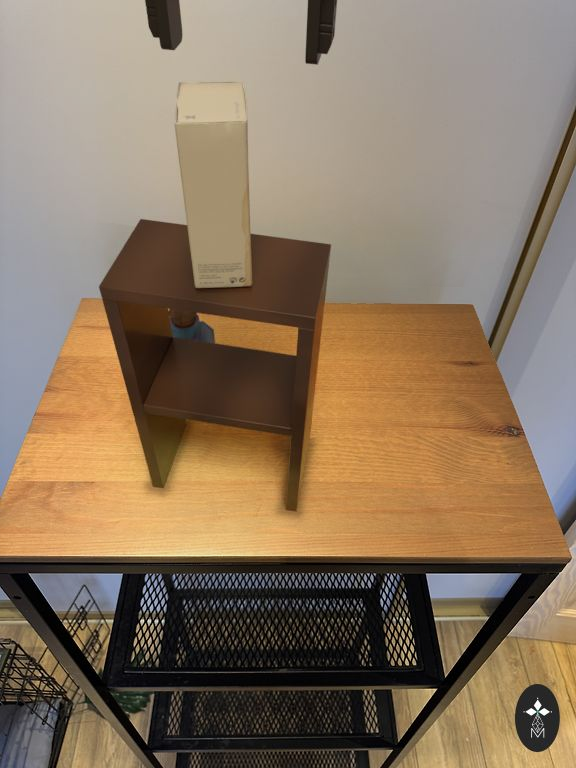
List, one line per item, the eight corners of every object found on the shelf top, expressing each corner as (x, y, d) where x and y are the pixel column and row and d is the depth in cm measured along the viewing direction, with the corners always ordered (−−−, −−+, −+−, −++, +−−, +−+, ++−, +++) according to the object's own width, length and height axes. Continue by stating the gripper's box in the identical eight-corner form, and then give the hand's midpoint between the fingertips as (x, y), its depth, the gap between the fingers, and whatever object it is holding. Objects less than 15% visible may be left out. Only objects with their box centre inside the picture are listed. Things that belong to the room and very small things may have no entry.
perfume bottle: (168, 365, 75) (156, 294, 65) (216, 363, 75) (210, 292, 66) (166, 402, 70) (152, 332, 61) (217, 400, 71) (210, 330, 62)
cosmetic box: (253, 289, 42) (250, 123, 33) (191, 290, 42) (172, 123, 32) (249, 238, 46) (246, 79, 37) (193, 239, 46) (177, 79, 37)
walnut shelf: (309, 444, 67) (331, 243, 46) (296, 512, 61) (315, 318, 40) (177, 422, 69) (140, 218, 47) (152, 486, 63) (98, 286, 42)
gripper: (0, -440, 20) (103, 65, 32) (415, -435, 18) (356, 90, 31) (87, -406, 25) (147, 21, 37) (420, -400, 23) (368, 41, 36)
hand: (242, 52), depth 34 cm, fingers open, 8 cm apart
